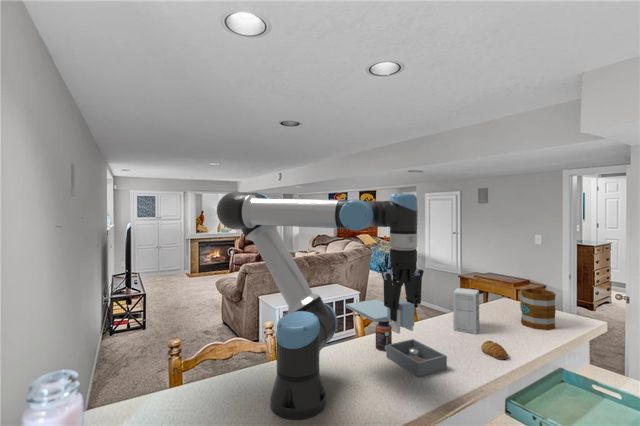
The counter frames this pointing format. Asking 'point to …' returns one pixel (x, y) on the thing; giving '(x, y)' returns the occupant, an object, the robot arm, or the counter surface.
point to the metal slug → (413, 352)
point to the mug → (538, 308)
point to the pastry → (494, 350)
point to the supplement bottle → (383, 335)
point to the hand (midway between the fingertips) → (402, 330)
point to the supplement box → (466, 310)
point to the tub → (400, 356)
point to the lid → (384, 311)
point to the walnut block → (417, 359)
